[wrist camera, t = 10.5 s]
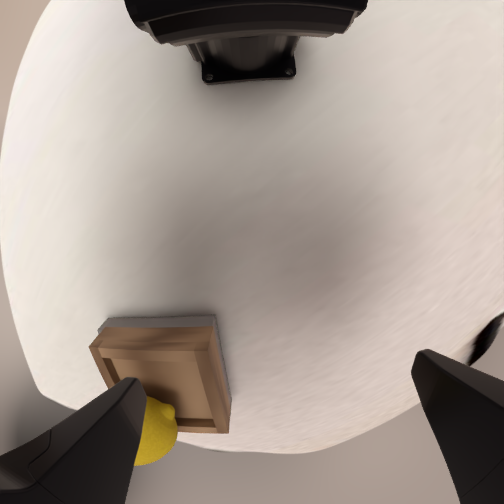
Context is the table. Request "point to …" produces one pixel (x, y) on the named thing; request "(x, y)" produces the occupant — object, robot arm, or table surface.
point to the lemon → (156, 432)
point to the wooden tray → (170, 371)
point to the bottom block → (172, 322)
